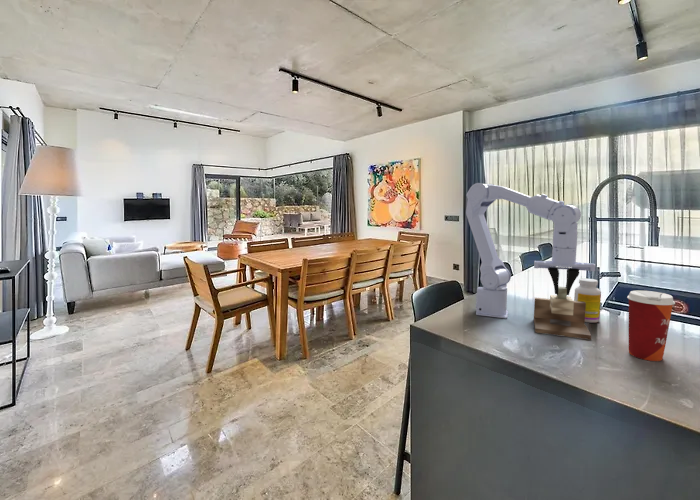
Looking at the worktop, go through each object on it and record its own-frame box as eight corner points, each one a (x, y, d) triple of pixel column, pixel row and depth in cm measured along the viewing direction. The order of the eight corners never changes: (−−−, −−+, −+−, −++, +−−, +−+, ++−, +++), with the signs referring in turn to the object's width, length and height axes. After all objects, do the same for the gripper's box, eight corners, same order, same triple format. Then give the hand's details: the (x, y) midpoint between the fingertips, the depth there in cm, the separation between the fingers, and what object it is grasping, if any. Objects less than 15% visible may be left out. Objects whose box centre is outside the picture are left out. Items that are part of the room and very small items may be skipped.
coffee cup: (674, 366, 71) (681, 300, 70) (626, 358, 76) (631, 296, 74) (663, 352, 78) (669, 291, 77) (619, 345, 83) (624, 288, 81)
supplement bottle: (603, 324, 98) (606, 282, 96) (579, 323, 99) (581, 281, 98) (592, 316, 104) (594, 277, 103) (569, 316, 106) (571, 277, 104)
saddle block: (551, 313, 92) (553, 288, 92) (549, 307, 99) (550, 285, 98) (573, 315, 90) (574, 290, 89) (569, 309, 96) (570, 286, 96)
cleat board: (535, 332, 93) (536, 307, 92) (533, 319, 103) (534, 297, 102) (591, 339, 87) (592, 313, 86) (583, 325, 97) (584, 301, 96)
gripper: (535, 248, 92) (533, 294, 94) (598, 249, 85) (595, 300, 87) (534, 245, 98) (532, 289, 100) (593, 247, 92) (590, 293, 93)
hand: (561, 293), depth 94 cm, fingers closed on saddle block
